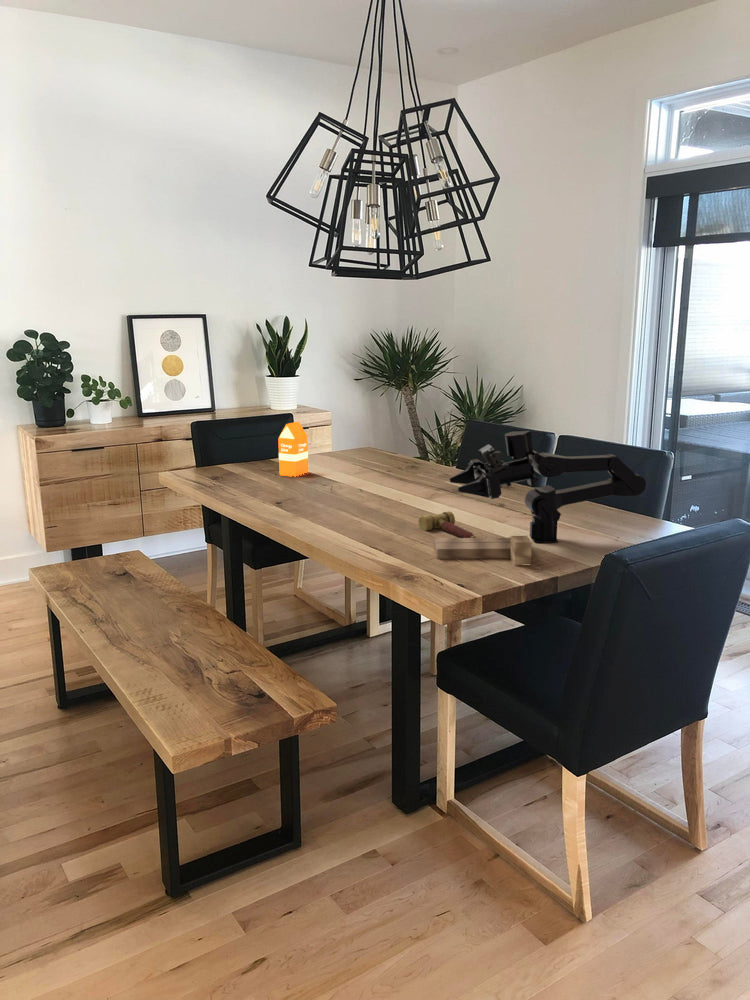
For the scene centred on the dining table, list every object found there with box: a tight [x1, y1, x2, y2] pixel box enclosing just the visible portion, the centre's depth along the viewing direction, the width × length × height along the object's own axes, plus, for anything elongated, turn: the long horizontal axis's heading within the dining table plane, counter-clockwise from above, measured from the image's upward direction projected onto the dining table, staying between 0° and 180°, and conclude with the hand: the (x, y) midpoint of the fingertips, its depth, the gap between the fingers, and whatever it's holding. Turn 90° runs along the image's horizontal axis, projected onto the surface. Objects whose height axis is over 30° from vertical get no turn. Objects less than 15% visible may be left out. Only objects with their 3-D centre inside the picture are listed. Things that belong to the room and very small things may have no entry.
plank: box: [433, 537, 533, 560], centre depth 210 cm, size 24×10×2 cm, turn 90°
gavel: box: [418, 510, 477, 538], centre depth 227 cm, size 21×5×10 cm
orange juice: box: [278, 421, 309, 478], centre depth 312 cm, size 8×9×20 cm
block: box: [509, 535, 532, 566], centre depth 204 cm, size 4×12×6 cm, turn 0°
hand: (454, 484), depth 214 cm, fingers open, 9 cm apart
